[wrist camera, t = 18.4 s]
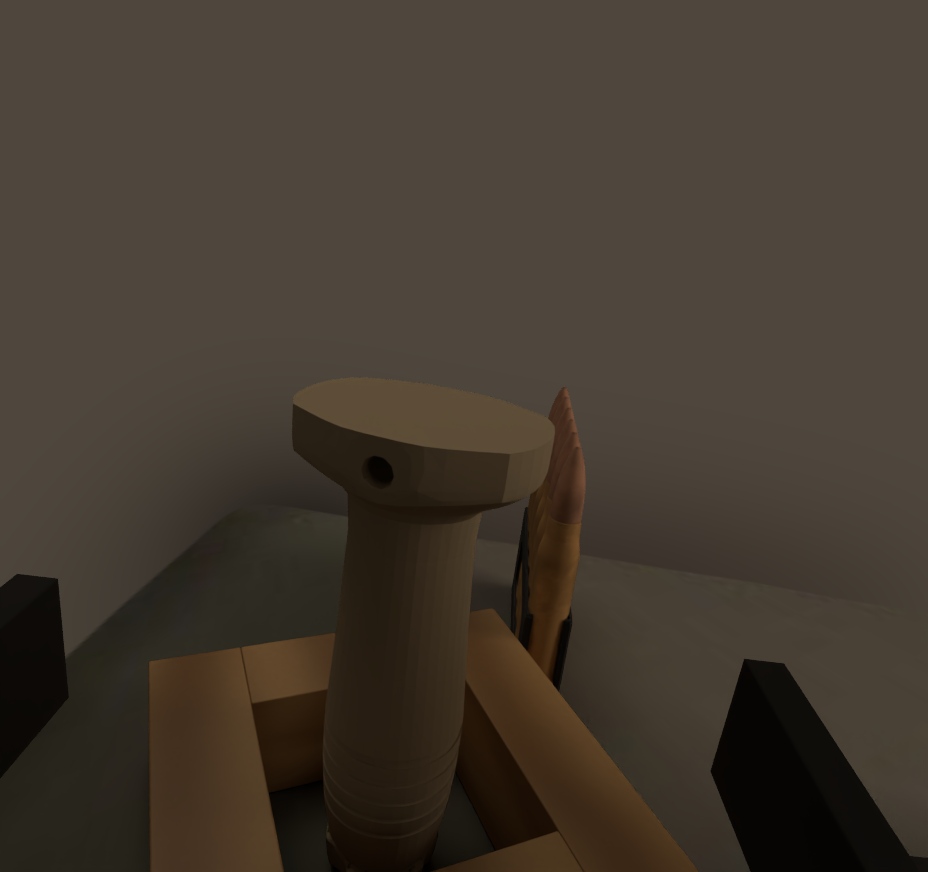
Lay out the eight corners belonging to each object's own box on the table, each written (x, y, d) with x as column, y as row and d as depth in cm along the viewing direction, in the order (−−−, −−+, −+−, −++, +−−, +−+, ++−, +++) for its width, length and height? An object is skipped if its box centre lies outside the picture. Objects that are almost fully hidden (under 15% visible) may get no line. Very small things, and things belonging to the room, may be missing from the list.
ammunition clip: (552, 731, 28) (606, 459, 24) (507, 724, 28) (554, 452, 24) (545, 591, 38) (582, 385, 34) (512, 586, 38) (545, 380, 34)
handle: (330, 770, 25) (356, 368, 20) (497, 838, 23) (572, 413, 18) (246, 885, 20) (253, 406, 15) (445, 982, 18) (524, 471, 13)
